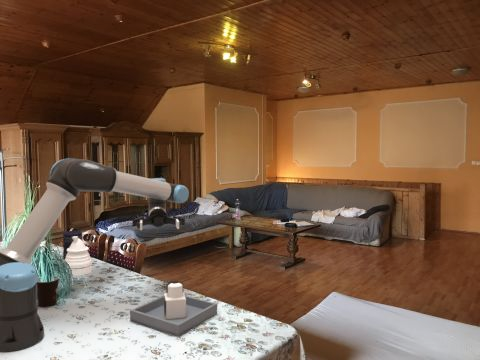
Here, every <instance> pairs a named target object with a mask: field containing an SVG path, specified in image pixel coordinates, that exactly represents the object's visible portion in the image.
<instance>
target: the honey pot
mask: <svg viewBox="0 0 480 360" xmlns="http://www.w3.org/2000/svg"><path fill="white" fill-rule="evenodd" d="M72 238H73V240H74V241H73V242H72V244H71V246H70V248H68V249H67V251H68V253H67V255H66V258H65V261H66V262H67V263H68V264H69V266H70V268H71V270H72V274H73V275H74V276H73V277H80V275H81V276H85V274H86V275H88V273H89V274H91V273H92V272H93V261H92V260H93V259H91V256H90V253H89V250H90V247H88V246H86V245H85V242H84V241H83V239H82V240H81V239H78V236H73V237H72ZM91 271H92V272H91ZM90 272H91V273H90ZM78 275H79V276H78Z"/></svg>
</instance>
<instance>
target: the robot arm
mask: <svg viewBox="0 0 480 360" xmlns="http://www.w3.org/2000/svg"><path fill="white" fill-rule="evenodd" d="M48 178H49V179H47V181H46V182H45V185H46V190H45V192H44V194H43V195H42V196H41V197H40V199H39V200H38V202H37V204H36V205H35V206H34V208H32V211H31V212H30V213H29V215H28V216H27V218H26V219H25V221H24V222H23V223H22V225H21V226H20V228H19V229H18V230H17V232H16V233H15V235H14V236H13V237H12V239H11V241H10V242H9V243H8V245H7V246H6V247H5V248H2V249H0V352H2V353H4V352H14V351H20V350H25V349H27V348H29V347H33V346H34V345H36V344H38V343H39V342H41V341H42V340H43V339H44V337H45V327H44V325H43V322H42V320H41V318H40V316H39V313H38V300H37V279H38V278H39V276H38V274H37V268H36V267H35V266H34V265H33V264H32V263H31V259H32V257H33V256H34V255H35V253H36V251H37V250H38V249H39V247H40V246H41V244H42V243H43V241H44V240H45V238H46V237H47V235H48V234H49V232H50V231H51V229H52V228H53V226H54V225H55V223H56V222H57V220H58V219H59V217H60V216H61V214H63V211H64V210H65V208H66V207H67V205H68V203H69V202H71V201H76V199H77V197H78V196H79V195H80V193H81V192H96V193H97V192H100V193H106V194H109V193H111V192H114V193H115V192H116V193H121V194H122V193H123V194H127V195H133V196H136V197H137V196H138V197H144V198H148V217H146V216H144V215H141V216H140V217H137V218H134V219H131V221H132V227H136V228H137V229H139V230H140V231H143V226H147V225H149V226H153V227H156V228H159V227H160V228H161V227H163V226H164V225H175V227H176V229H177V230H180V226H185V225H186V218H183V217H181V216H177V215H175V214H173V215H171V217H170V216H169V215H168V214H167V211H166V210H167V209H166V208H167V205H166V204H167V202H170V203H176V204H184V203H185V202H187V201H188V199H189V195H190V193H189V189H188V187H186V186H185V185H182V184H176V183H171V182H167V180H166V178H160V177H159V178H157V177H155V178H154V177H153V178H150V177H149V178H147V177H144V176H140V175H135V174H131V173H127V172H122V171H119V170H117V169H116V168H115V167H113V166H109V165H105V164H102V163H98V162H96V161H93V160H90V159H85V158H81V159H80V158H73V157H72V158H71V157H67V158H63V159H60V160H58V161H56V162H55V163H54V164H53V165H52V167H51V169H50V172H49V177H48Z"/></svg>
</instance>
